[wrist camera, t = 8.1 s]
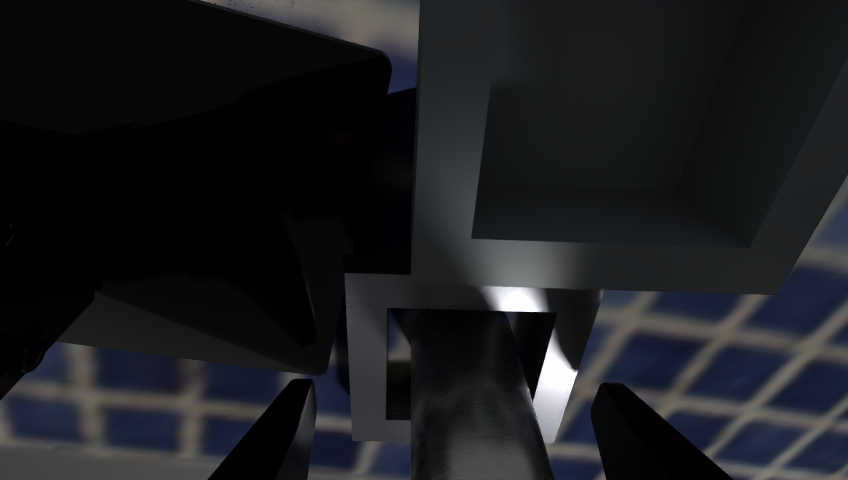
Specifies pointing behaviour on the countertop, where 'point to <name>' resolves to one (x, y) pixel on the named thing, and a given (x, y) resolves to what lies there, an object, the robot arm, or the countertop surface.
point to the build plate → (178, 181)
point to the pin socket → (391, 288)
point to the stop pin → (471, 401)
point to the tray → (625, 141)
